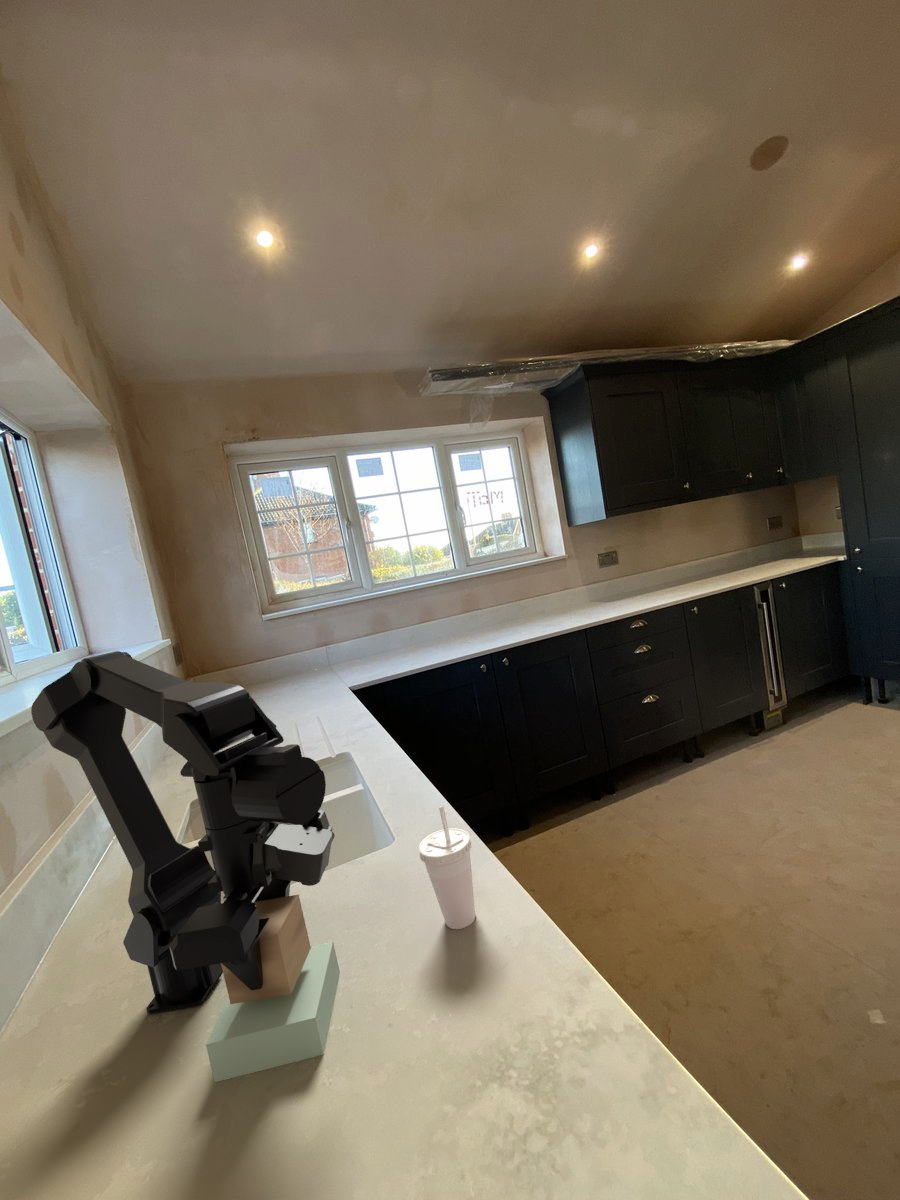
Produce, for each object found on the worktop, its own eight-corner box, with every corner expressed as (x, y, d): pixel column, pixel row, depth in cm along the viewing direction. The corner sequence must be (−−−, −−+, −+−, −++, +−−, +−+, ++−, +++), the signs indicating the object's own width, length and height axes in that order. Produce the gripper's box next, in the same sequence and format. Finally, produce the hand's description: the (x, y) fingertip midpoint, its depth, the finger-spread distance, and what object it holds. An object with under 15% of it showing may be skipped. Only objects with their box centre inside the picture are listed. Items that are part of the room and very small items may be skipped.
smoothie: (482, 936, 58) (457, 818, 58) (428, 938, 60) (403, 823, 59) (489, 899, 65) (467, 792, 64) (440, 902, 66) (418, 797, 65)
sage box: (215, 1085, 47) (205, 1044, 47) (250, 997, 57) (242, 962, 57) (324, 1058, 48) (315, 1017, 47) (340, 975, 57) (333, 941, 57)
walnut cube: (230, 1004, 49) (216, 944, 49) (256, 957, 55) (244, 903, 55) (291, 994, 49) (277, 934, 49) (310, 948, 55) (298, 894, 55)
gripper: (278, 852, 41) (320, 1034, 42) (338, 764, 60) (366, 892, 61) (147, 876, 42) (190, 1055, 43) (246, 781, 61) (275, 907, 61)
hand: (269, 963), depth 52 cm, fingers closed on walnut cube, 6 cm apart
